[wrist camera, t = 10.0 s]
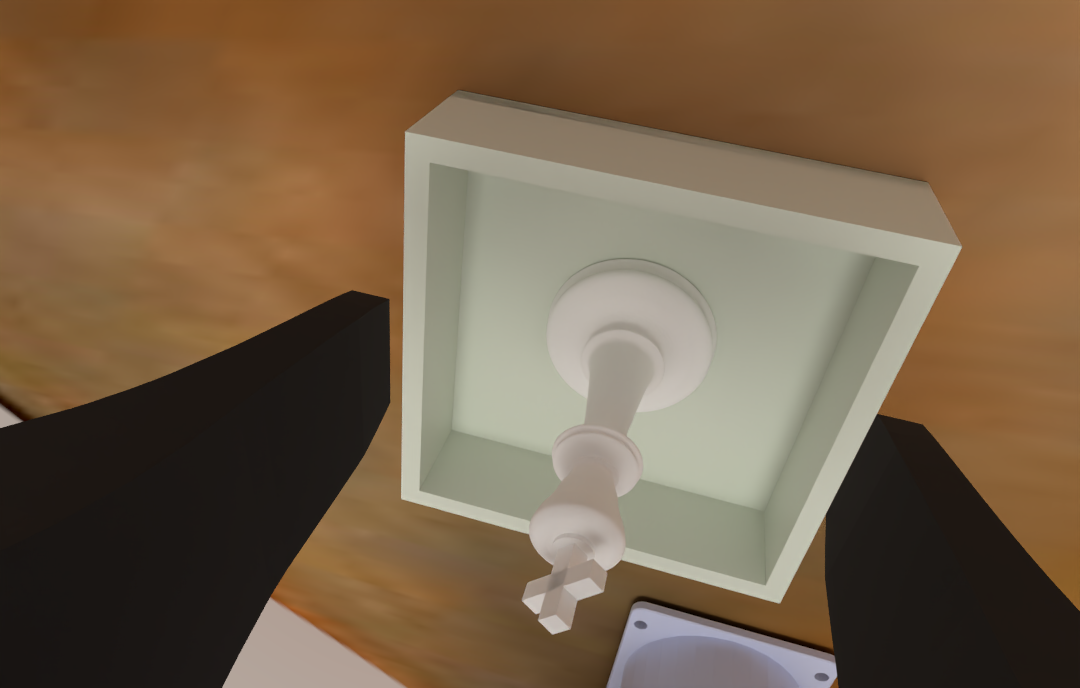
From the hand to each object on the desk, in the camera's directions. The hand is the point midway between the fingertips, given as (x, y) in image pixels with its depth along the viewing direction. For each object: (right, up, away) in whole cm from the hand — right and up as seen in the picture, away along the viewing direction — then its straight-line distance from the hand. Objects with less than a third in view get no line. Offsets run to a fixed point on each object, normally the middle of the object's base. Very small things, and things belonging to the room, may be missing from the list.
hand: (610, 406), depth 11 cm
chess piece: (+2, +1, +11) cm, 11 cm away
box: (+2, +1, +11) cm, 11 cm away
